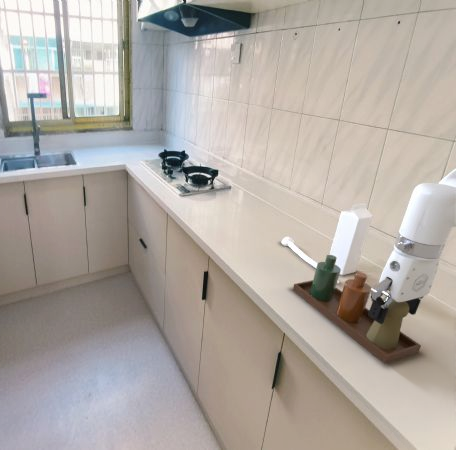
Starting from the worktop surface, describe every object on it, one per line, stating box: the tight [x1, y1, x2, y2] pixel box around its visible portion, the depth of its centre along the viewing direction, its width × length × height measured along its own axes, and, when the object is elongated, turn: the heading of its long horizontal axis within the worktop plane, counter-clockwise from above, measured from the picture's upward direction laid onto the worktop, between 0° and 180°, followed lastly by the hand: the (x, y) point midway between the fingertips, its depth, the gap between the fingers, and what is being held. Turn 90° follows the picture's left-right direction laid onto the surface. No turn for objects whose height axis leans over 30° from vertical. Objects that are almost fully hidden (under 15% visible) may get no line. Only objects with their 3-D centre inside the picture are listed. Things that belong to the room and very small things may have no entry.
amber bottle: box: [336, 271, 372, 323], centre depth 82 cm, size 6×6×12 cm
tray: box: [292, 279, 422, 365], centre depth 84 cm, size 10×28×2 cm, turn 20°
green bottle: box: [310, 254, 341, 302], centre depth 90 cm, size 6×6×12 cm
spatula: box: [281, 236, 341, 285], centre depth 110 cm, size 28×4×3 cm, turn 15°
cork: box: [366, 296, 410, 350], centre depth 75 cm, size 6×6×11 cm
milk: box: [329, 202, 374, 276], centre depth 102 cm, size 6×6×22 cm
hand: (391, 315), depth 74 cm, fingers open, 9 cm apart
